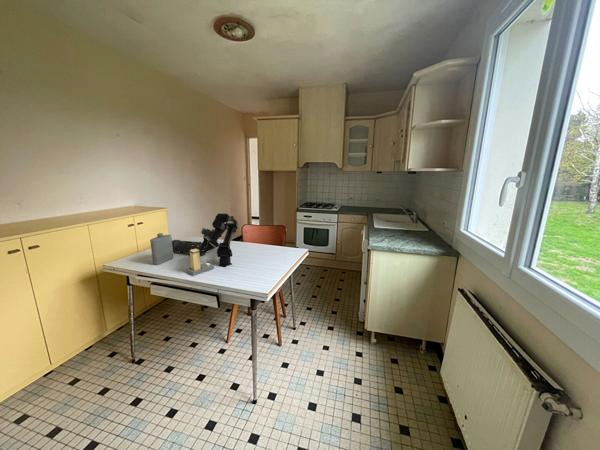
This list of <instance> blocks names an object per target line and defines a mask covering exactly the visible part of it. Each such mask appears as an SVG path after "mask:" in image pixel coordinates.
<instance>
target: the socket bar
mask: <svg viewBox="0 0 600 450" xmlns="http://www.w3.org/2000/svg"><path fill="white" fill-rule="evenodd" d="M200 266H201V269H199V270H196V271H192V270H191V266H190V267H187V268H186V273H187V274H189V275H191V276H194V277H195V276H197V275H200V274H203V273H206V272H210V271H213V270H214V269H215V265H214V264H212V263H210V262H203V263H200Z"/></svg>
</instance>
